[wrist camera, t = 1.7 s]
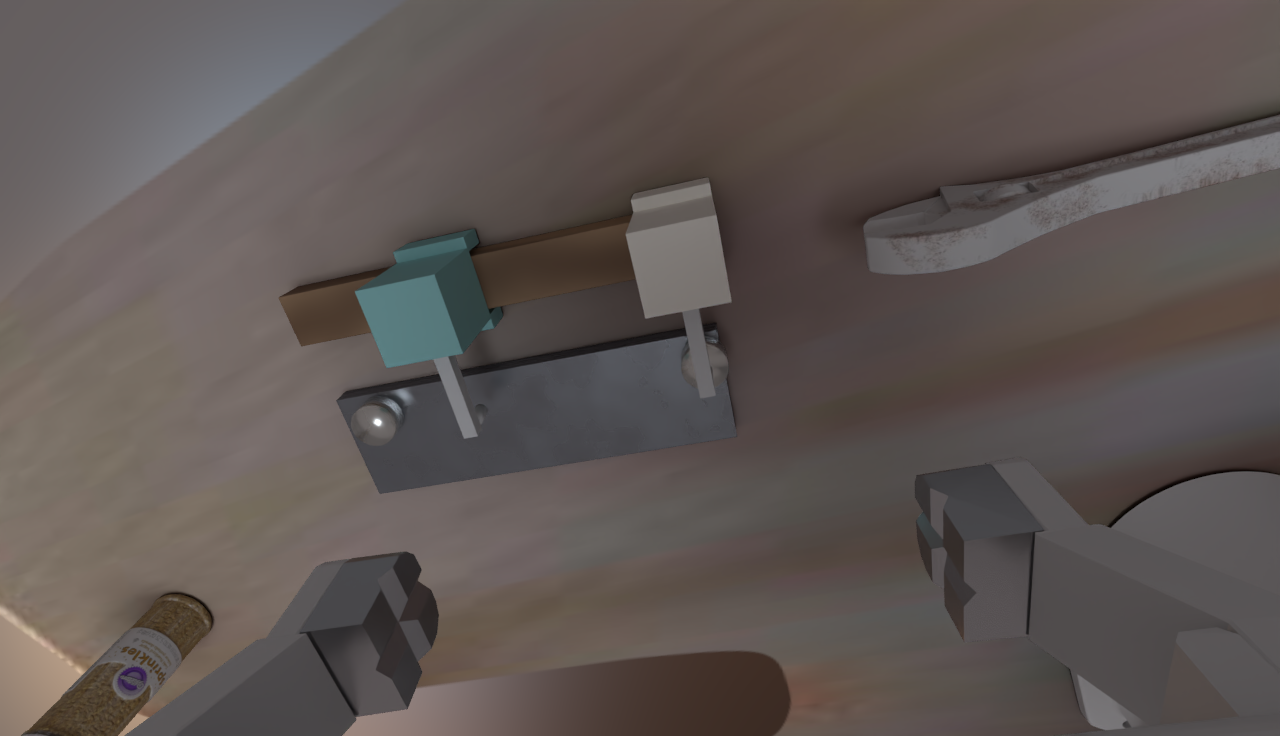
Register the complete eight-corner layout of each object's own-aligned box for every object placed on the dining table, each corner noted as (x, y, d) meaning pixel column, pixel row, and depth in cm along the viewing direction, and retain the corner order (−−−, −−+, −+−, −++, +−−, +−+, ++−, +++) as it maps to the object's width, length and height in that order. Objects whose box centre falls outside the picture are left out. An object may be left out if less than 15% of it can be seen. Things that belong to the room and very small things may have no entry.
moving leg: (526, 388, 39) (497, 448, 33) (465, 399, 40) (425, 460, 34) (474, 228, 35) (429, 262, 29) (407, 243, 36) (349, 279, 30)
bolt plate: (740, 425, 40) (744, 449, 37) (387, 483, 43) (369, 507, 41) (721, 321, 37) (723, 339, 35) (345, 391, 40) (323, 412, 38)
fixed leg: (738, 350, 37) (750, 406, 31) (671, 362, 38) (669, 419, 32) (708, 177, 33) (714, 200, 27) (633, 193, 34) (622, 220, 28)
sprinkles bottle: (224, 613, 49) (73, 791, 37) (199, 644, 51) (46, 824, 39) (169, 580, 48) (-5, 752, 36) (145, 613, 50) (-29, 788, 38)
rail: (703, 255, 35) (704, 265, 34) (319, 333, 39) (301, 346, 37) (693, 201, 34) (693, 208, 32) (297, 286, 38) (278, 297, 36)
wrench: (1404, 101, 33) (829, 247, 34) (1412, 63, 32) (825, 213, 34) (1636, 103, 26) (891, 288, 27) (1654, 53, 25) (887, 245, 26)
